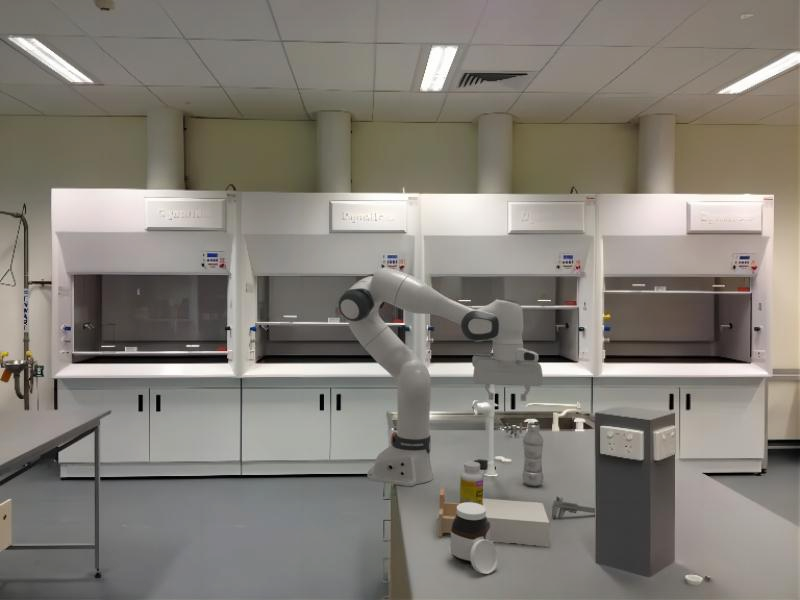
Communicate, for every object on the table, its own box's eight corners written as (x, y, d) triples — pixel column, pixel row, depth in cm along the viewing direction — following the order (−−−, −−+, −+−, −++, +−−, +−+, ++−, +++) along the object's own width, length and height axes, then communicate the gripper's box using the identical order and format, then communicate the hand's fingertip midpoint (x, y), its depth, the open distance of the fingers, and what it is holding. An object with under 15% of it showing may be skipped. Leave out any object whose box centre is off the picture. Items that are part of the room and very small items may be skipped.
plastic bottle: (544, 489, 159) (545, 427, 159) (522, 487, 161) (523, 426, 161) (542, 482, 166) (543, 422, 166) (521, 480, 167) (522, 421, 167)
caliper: (553, 520, 138) (554, 497, 138) (552, 518, 139) (552, 496, 139) (620, 515, 141) (620, 493, 141) (617, 514, 142) (617, 492, 142)
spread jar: (465, 544, 123) (466, 497, 123) (508, 558, 116) (509, 508, 116) (441, 565, 113) (442, 514, 113) (487, 581, 106) (487, 527, 106)
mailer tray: (438, 536, 126) (438, 500, 126) (441, 516, 138) (441, 482, 138) (503, 542, 123) (504, 505, 123) (500, 520, 136) (501, 486, 136)
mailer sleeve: (483, 541, 124) (483, 517, 124) (482, 520, 136) (482, 498, 136) (548, 546, 122) (549, 522, 122) (542, 525, 134) (542, 502, 134)
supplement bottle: (477, 514, 140) (478, 469, 140) (456, 509, 143) (456, 464, 143) (486, 506, 146) (487, 462, 146) (465, 501, 149) (466, 458, 149)
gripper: (472, 353, 145) (471, 400, 145) (544, 355, 142) (543, 403, 142) (472, 351, 152) (471, 396, 152) (541, 353, 149) (540, 399, 149)
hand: (507, 399), depth 147 cm, fingers open, 8 cm apart
